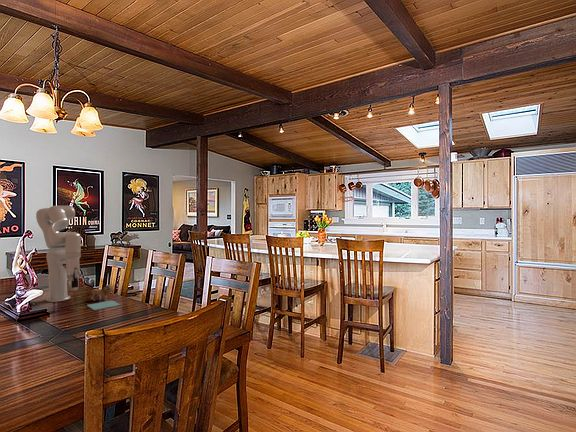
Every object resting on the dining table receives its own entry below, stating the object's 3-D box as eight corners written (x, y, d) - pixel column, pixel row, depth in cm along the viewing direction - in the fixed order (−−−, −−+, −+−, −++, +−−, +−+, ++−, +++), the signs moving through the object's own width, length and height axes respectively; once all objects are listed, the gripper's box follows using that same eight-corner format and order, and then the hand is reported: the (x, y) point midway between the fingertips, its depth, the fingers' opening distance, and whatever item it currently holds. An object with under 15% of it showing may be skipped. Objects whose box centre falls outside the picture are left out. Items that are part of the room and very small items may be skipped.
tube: (67, 289, 199) (67, 272, 199) (77, 288, 203) (77, 271, 202) (69, 291, 196) (69, 273, 195) (79, 289, 199) (79, 272, 199)
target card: (86, 305, 203) (86, 305, 203) (112, 300, 212) (112, 300, 212) (94, 310, 193) (94, 309, 193) (120, 305, 203) (120, 304, 203)
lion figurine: (113, 297, 220) (113, 283, 220) (111, 299, 215) (111, 285, 215) (88, 299, 216) (87, 285, 216) (85, 301, 211) (85, 287, 211)
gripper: (61, 253, 202) (62, 284, 202) (69, 257, 190) (70, 290, 190) (76, 252, 207) (76, 282, 208) (84, 256, 195) (85, 288, 196)
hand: (73, 286), depth 199 cm, fingers closed on tube, 5 cm apart
